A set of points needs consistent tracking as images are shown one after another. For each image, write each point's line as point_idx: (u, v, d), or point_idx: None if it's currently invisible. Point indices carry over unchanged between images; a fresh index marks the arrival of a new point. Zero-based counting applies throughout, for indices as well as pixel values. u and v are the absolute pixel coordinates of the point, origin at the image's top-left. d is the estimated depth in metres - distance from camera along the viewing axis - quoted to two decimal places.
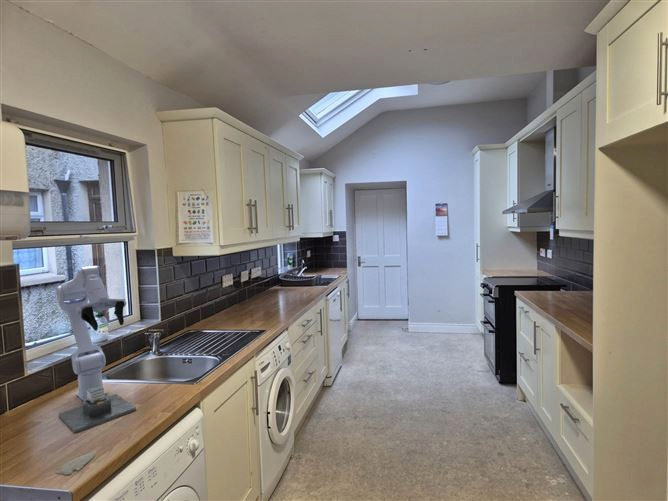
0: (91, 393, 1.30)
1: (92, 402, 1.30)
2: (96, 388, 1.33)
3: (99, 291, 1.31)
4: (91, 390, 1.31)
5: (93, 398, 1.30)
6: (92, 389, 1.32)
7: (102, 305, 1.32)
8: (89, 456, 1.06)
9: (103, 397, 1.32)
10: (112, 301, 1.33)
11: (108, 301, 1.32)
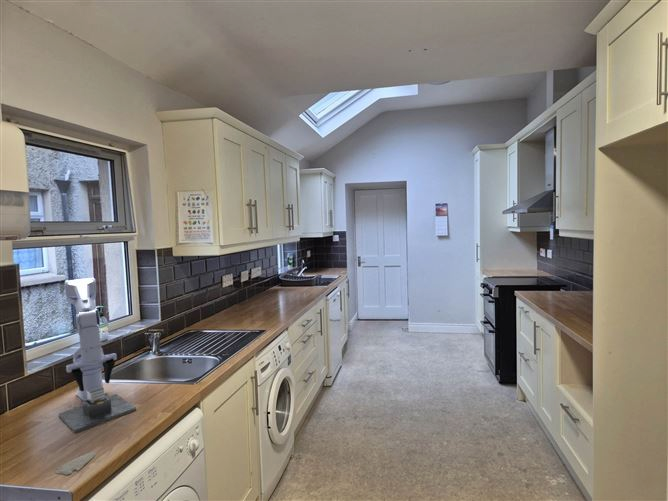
0: (91, 393, 1.30)
1: (92, 402, 1.30)
2: (96, 388, 1.33)
3: (93, 352, 1.29)
4: (91, 390, 1.31)
5: (93, 398, 1.30)
6: (92, 389, 1.32)
7: None
8: (89, 456, 1.06)
9: (103, 397, 1.32)
10: None
11: None
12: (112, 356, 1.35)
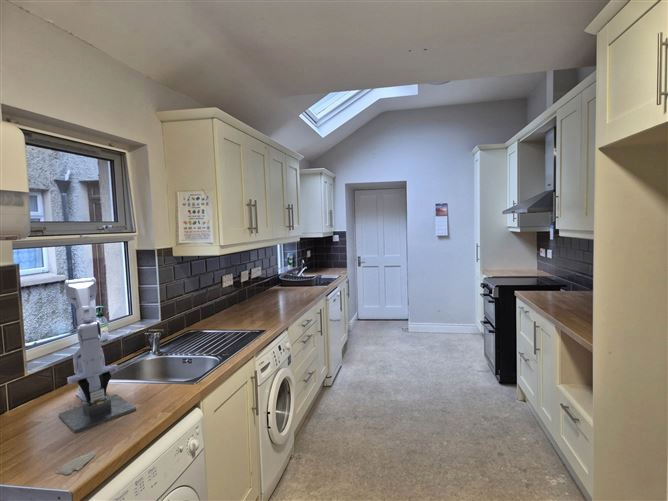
0: (91, 393, 1.30)
1: (92, 402, 1.30)
2: (96, 388, 1.33)
3: (94, 363, 1.30)
4: (91, 390, 1.31)
5: (93, 398, 1.30)
6: (92, 389, 1.32)
7: None
8: (89, 456, 1.06)
9: (103, 397, 1.32)
10: None
11: None
12: (113, 367, 1.36)
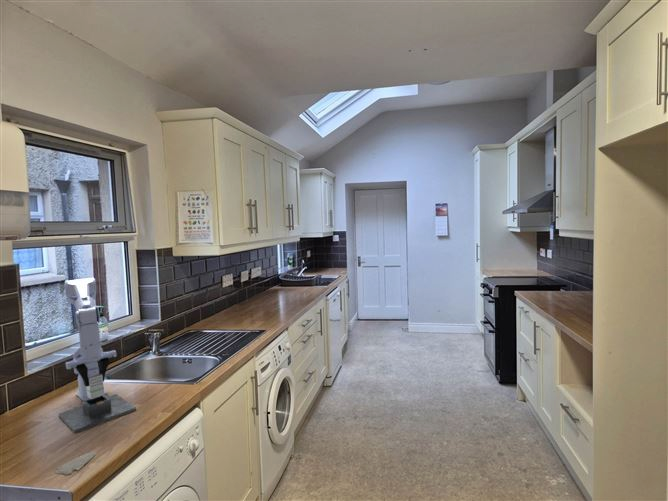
0: (89, 378, 1.29)
1: (90, 387, 1.30)
2: (95, 374, 1.32)
3: (93, 349, 1.29)
4: (90, 376, 1.31)
5: (91, 383, 1.30)
6: (91, 375, 1.32)
7: None
8: (89, 456, 1.06)
9: (102, 383, 1.32)
10: None
11: None
12: (112, 353, 1.35)
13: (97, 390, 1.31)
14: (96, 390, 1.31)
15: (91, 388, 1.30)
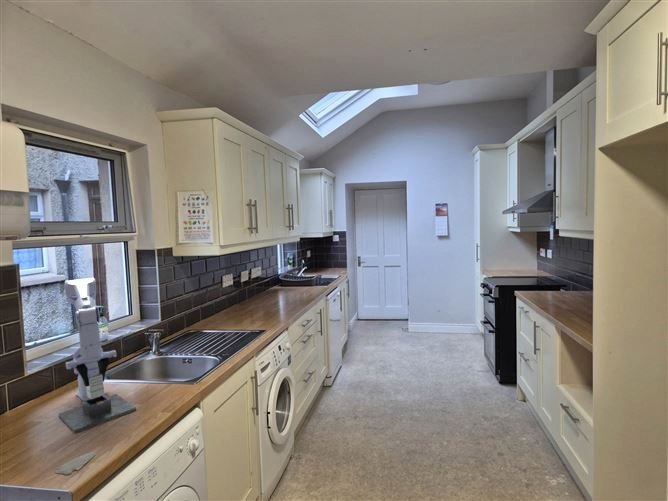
0: (89, 378, 1.29)
1: (90, 387, 1.30)
2: (95, 374, 1.32)
3: (93, 349, 1.29)
4: (90, 376, 1.31)
5: (91, 383, 1.30)
6: (91, 375, 1.32)
7: None
8: (89, 456, 1.06)
9: (102, 383, 1.32)
10: None
11: None
12: (112, 353, 1.35)
13: (97, 390, 1.31)
14: (96, 390, 1.31)
15: (91, 388, 1.30)
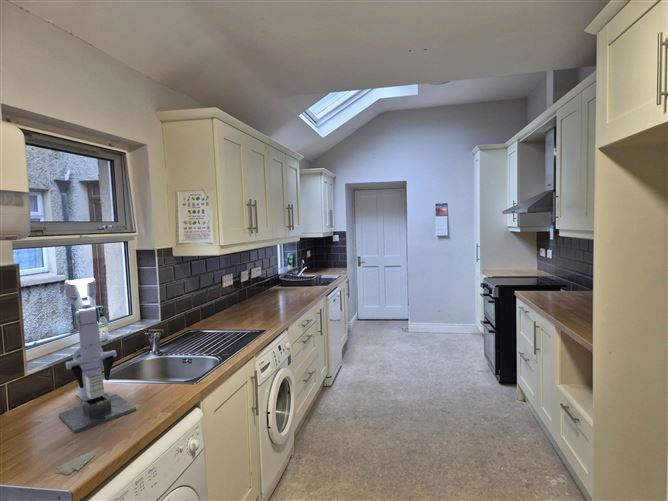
0: (89, 378, 1.29)
1: (90, 387, 1.30)
2: (95, 374, 1.32)
3: (93, 349, 1.29)
4: (90, 376, 1.31)
5: (91, 383, 1.30)
6: (91, 375, 1.32)
7: None
8: (89, 456, 1.06)
9: (102, 383, 1.32)
10: None
11: None
12: (112, 353, 1.35)
13: (97, 390, 1.31)
14: (96, 390, 1.31)
15: (91, 388, 1.30)
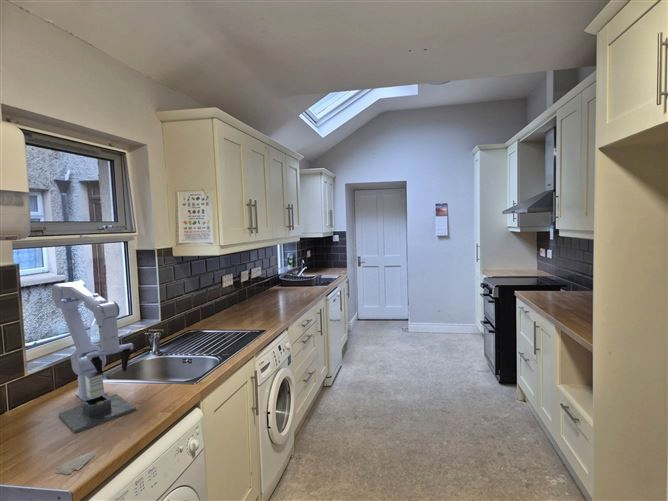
0: (89, 378, 1.29)
1: (90, 387, 1.30)
2: (95, 374, 1.32)
3: (112, 341, 1.37)
4: (90, 376, 1.31)
5: (91, 383, 1.30)
6: (91, 375, 1.32)
7: None
8: (89, 456, 1.06)
9: (102, 383, 1.32)
10: None
11: None
12: (129, 346, 1.43)
13: (97, 390, 1.31)
14: (96, 390, 1.31)
15: (91, 388, 1.30)
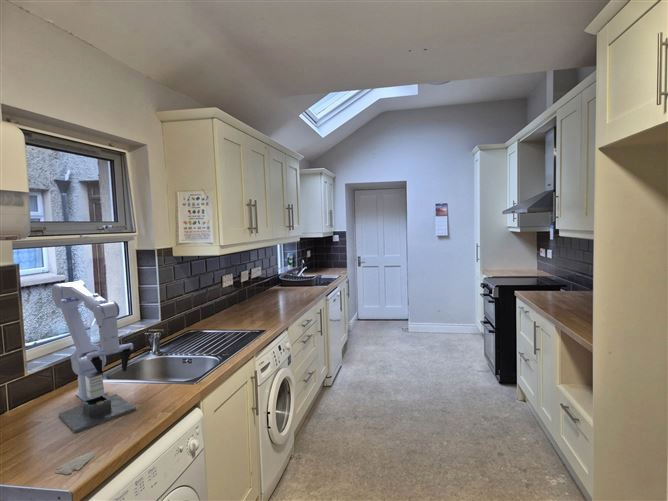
0: (89, 378, 1.29)
1: (90, 387, 1.30)
2: (95, 374, 1.32)
3: (112, 341, 1.37)
4: (90, 376, 1.31)
5: (91, 383, 1.30)
6: (91, 375, 1.32)
7: None
8: (89, 456, 1.06)
9: (102, 383, 1.32)
10: None
11: None
12: (129, 346, 1.43)
13: (97, 390, 1.31)
14: (96, 390, 1.31)
15: (91, 388, 1.30)
